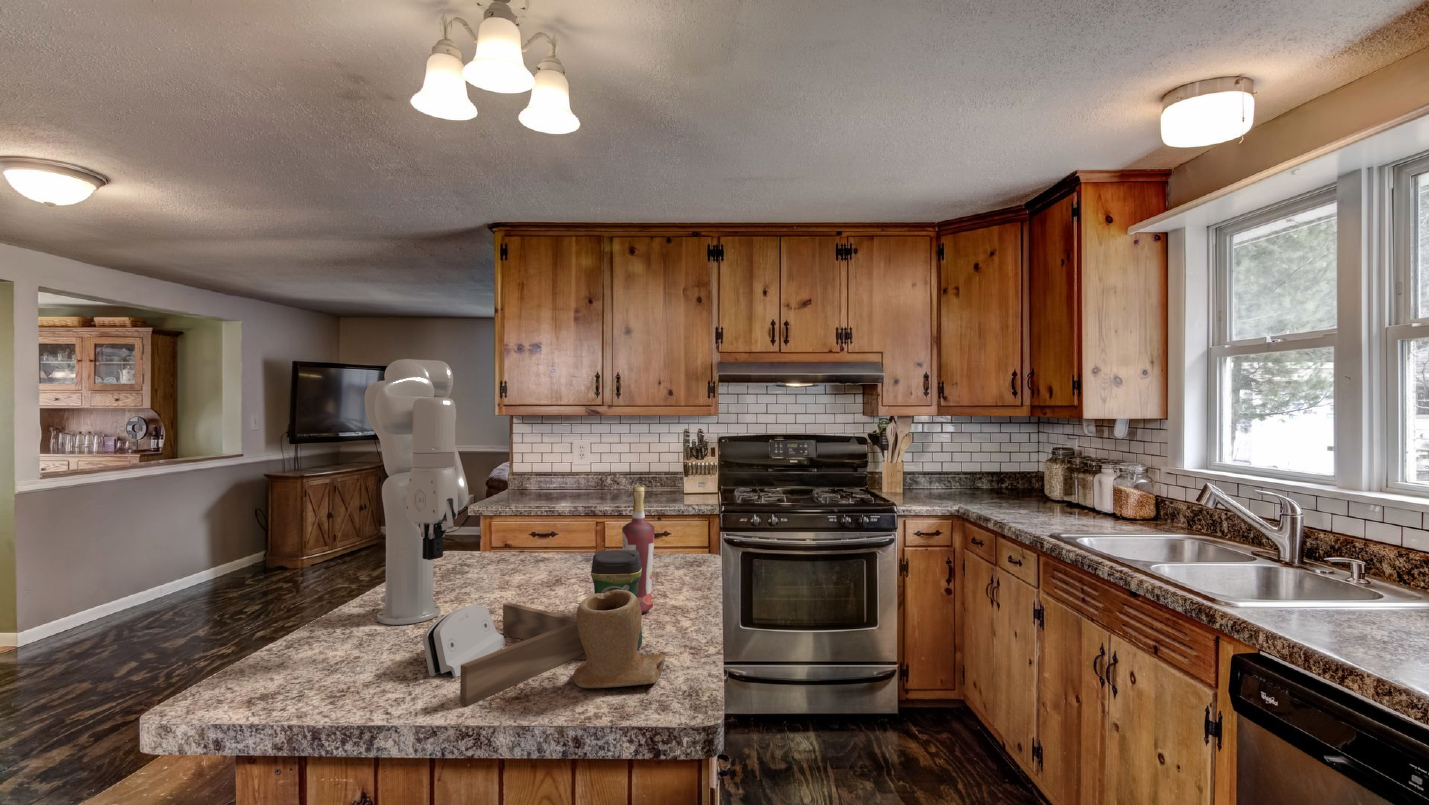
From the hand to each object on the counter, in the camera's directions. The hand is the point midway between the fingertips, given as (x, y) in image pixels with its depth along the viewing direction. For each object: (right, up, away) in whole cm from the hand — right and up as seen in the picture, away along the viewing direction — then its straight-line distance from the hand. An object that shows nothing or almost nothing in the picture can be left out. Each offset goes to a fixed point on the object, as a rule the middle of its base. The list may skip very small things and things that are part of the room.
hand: (432, 558), depth 122 cm
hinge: (+8, -17, -5) cm, 20 cm away
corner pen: (+14, -17, -8) cm, 23 cm away
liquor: (+36, -18, +23) cm, 47 cm away
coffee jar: (+35, -17, 0) cm, 39 cm away
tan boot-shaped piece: (+38, -17, -16) cm, 45 cm away
